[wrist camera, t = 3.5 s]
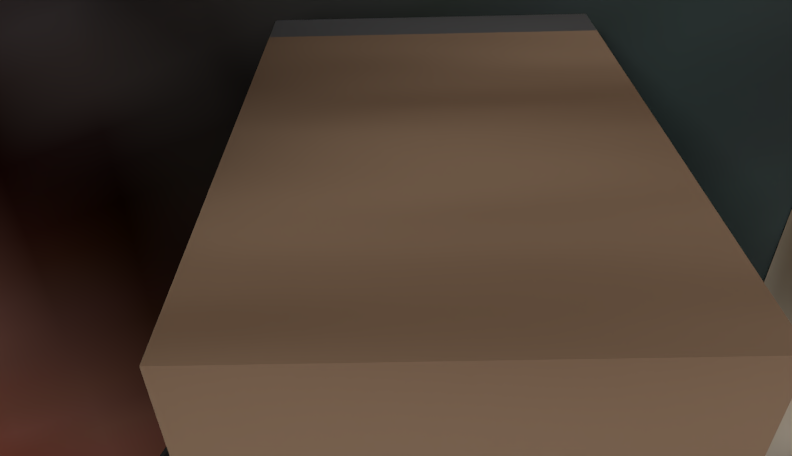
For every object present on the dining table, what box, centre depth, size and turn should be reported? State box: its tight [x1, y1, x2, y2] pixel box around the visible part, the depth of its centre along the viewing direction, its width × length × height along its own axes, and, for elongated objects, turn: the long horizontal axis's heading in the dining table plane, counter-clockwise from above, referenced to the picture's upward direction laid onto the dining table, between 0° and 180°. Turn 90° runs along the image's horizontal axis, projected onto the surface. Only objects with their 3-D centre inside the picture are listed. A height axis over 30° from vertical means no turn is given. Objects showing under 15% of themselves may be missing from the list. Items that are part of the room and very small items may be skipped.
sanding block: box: [139, 14, 792, 456], centre depth 9 cm, size 9×4×6 cm, turn 1°
